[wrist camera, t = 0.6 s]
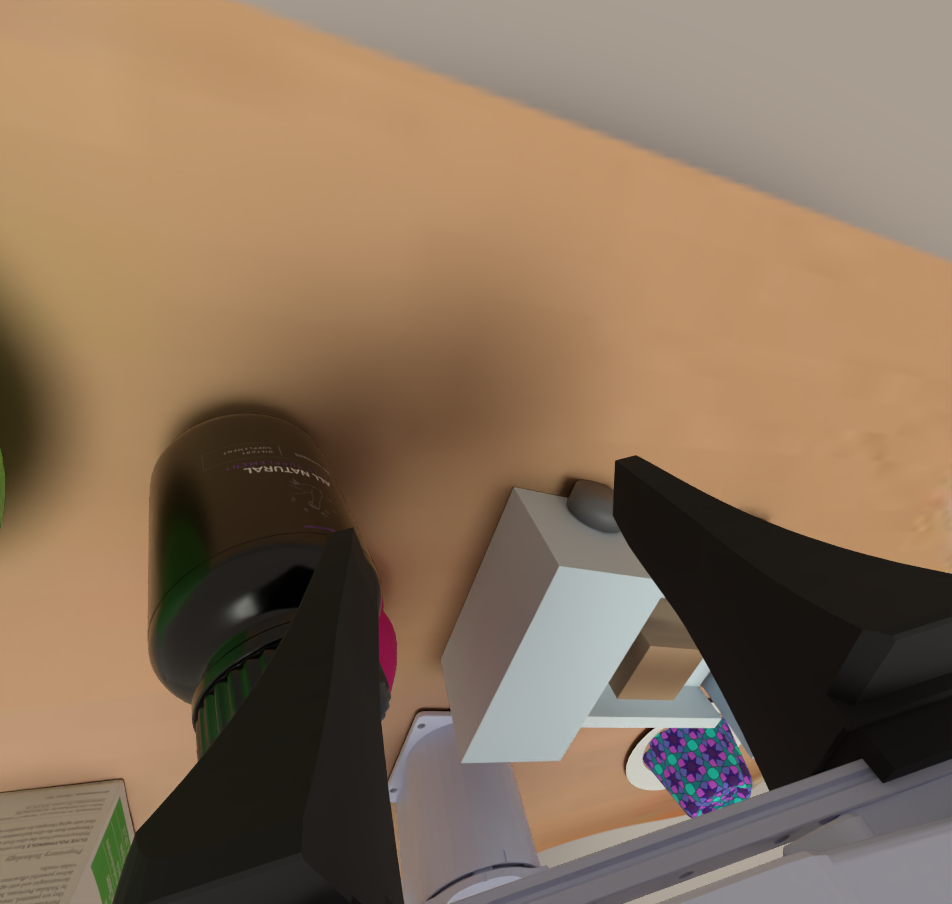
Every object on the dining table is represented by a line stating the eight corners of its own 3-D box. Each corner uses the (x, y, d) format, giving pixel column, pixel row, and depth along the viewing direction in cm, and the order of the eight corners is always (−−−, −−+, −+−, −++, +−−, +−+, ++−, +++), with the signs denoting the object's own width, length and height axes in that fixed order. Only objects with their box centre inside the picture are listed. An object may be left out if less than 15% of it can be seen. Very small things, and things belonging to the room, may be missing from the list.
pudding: (659, 794, 46) (693, 858, 42) (596, 757, 41) (627, 826, 36) (762, 724, 45) (808, 782, 40) (711, 674, 39) (759, 736, 34)
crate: (637, 645, 31) (673, 700, 28) (585, 641, 30) (617, 698, 26) (666, 598, 30) (708, 650, 26) (613, 592, 28) (650, 646, 25)
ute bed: (668, 684, 37) (724, 769, 32) (434, 674, 31) (453, 778, 25) (779, 522, 32) (871, 590, 26) (522, 466, 25) (571, 540, 20)
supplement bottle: (301, 386, 20) (418, 602, 12) (335, 504, 24) (438, 723, 16) (111, 437, 17) (85, 760, 9) (186, 558, 22) (215, 855, 13)
